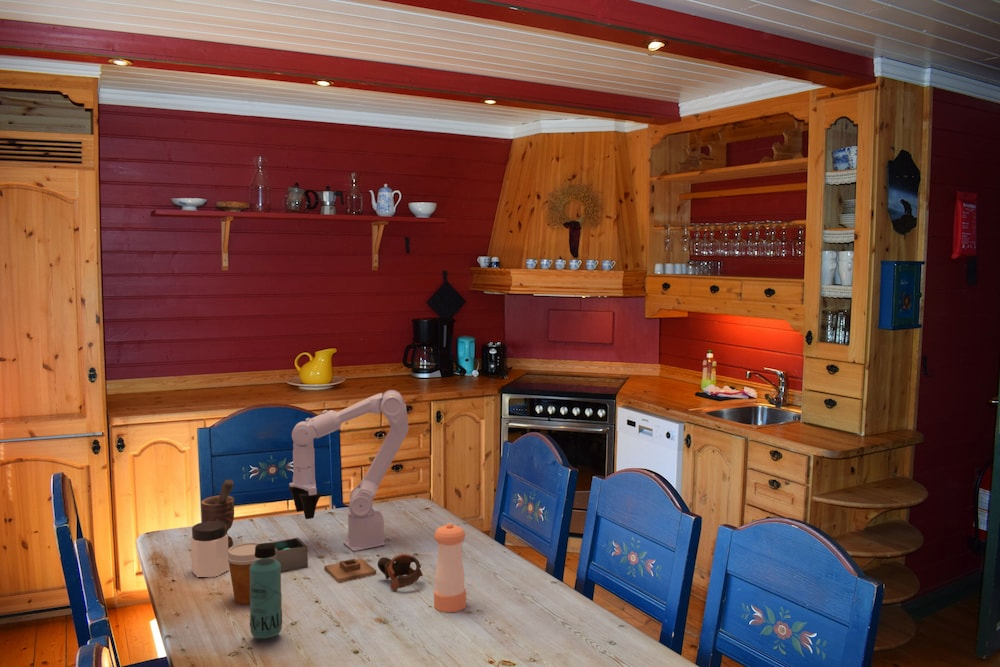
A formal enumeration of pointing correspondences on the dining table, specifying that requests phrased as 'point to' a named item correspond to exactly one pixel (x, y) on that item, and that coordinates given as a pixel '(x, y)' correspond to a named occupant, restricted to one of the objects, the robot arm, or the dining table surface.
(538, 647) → the dining table surface
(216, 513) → the mortar and pestle
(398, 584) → the pottery mug
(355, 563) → the stand
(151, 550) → the dining table surface
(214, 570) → the jar
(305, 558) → the open box
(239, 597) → the disposable coffee cup
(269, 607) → the beverage bottle
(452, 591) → the salt shaker
